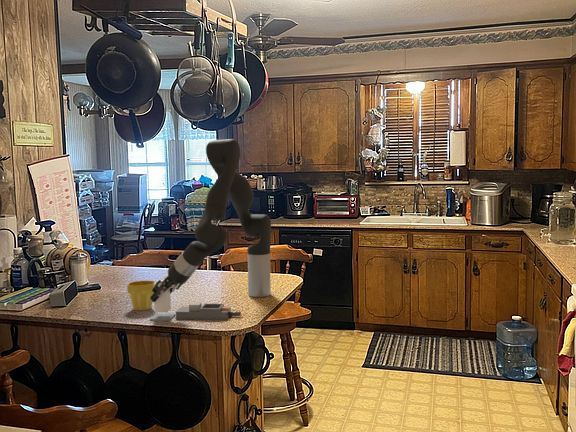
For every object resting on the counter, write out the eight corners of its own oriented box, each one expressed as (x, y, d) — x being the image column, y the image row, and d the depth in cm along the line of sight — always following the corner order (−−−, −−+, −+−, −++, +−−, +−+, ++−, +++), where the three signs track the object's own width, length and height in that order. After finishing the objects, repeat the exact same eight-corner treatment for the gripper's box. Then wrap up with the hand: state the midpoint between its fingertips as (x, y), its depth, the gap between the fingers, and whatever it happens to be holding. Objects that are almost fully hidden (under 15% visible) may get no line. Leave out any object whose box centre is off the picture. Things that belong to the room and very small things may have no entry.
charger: (158, 308, 201) (157, 279, 201) (170, 309, 201) (169, 279, 200) (154, 312, 197) (153, 282, 196) (166, 312, 197) (165, 282, 196)
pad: (156, 315, 203) (156, 313, 203) (175, 315, 202) (175, 313, 202) (149, 320, 196) (149, 318, 196) (169, 320, 195) (169, 319, 195)
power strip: (181, 313, 205) (181, 301, 205) (242, 314, 203) (242, 301, 203) (176, 318, 198) (175, 306, 198) (238, 319, 196) (238, 306, 196)
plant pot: (131, 305, 218) (130, 280, 217) (158, 304, 219) (157, 279, 218) (125, 312, 208) (124, 286, 207) (154, 311, 208) (153, 285, 208)
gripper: (190, 255, 200) (165, 286, 207) (163, 262, 187) (137, 294, 194) (203, 271, 198) (177, 301, 205) (176, 279, 185) (150, 311, 192)
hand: (158, 298), depth 199 cm, fingers closed on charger, 5 cm apart
